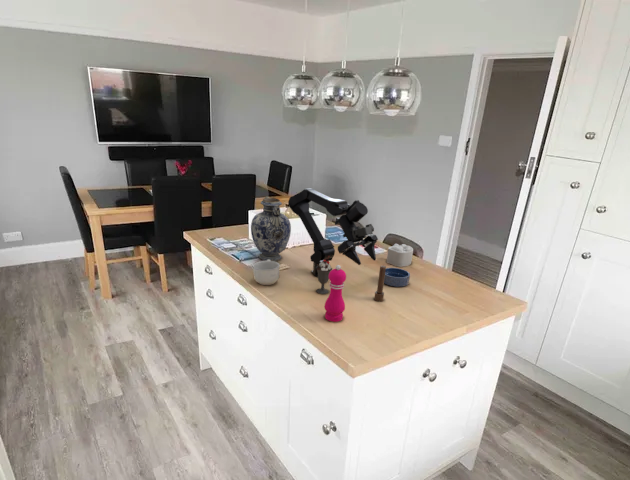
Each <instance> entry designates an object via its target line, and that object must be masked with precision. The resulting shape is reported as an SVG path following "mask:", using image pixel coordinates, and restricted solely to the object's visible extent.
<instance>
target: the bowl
mask: <svg viewBox="0 0 630 480" xmlns="http://www.w3.org/2000/svg"><path fill="white" fill-rule="evenodd" d="M410 278H411V273H410V272H409V271H408V270H405V269H402V268H400V267H386V270H385V278H384V285H387V286H390V287H394V288H395V287H396V288H400V287H406V286H408V285H409V283H410Z"/></svg>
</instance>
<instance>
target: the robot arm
mask: <svg viewBox="0 0 630 480" xmlns="http://www.w3.org/2000/svg"><path fill="white" fill-rule="evenodd" d="M287 202H288V203H287V205H288V207H289V208H290V210H291V212H293V213H294V214H295V215H296V216H298V217H299V220H301V222H302V224H303V226H304V229H305V230H306V231H307V234H308V236H309V237H310V239H311V240H312V244H313V253H312V254H311V255H310V257H309V258H310V262H312V264H313V266H312V270H311V273H312V274H313V275H314V277H318V271H317V270H316V267H317V264H318V265H319V264H320V263H321V262H322V261H323V260H325V259H326V262H327V261H329V262H330V261H332V260H333V258H334V256H335V252H336V249H335V245H334V244H333V242H332V240H331V239H330V238H327V239H326V238H325V237H324V236H323V234H322V232H321V231H320V228H319V227H318V225H317V223H316V221H315V220H314V217H313V216H312V214H311V212H310V203H311V202H313V203H315V204H317V205H319V206H321V207H323V208H324V209H326V211H327V213H328V214H329V215H331V216H332V217H336V218H335V221H334V225H335V226H338V225H339V226H340V229H341V230H342V232H343V234H342V237H343V238H346V240H343V242H341V243H340V244H339V245H338V246H337V251H338V253H339V254H340V255H341V254H342V256H345V257H347V258H348V259H350V260H351V261H353V262H354V263H355V264H357V265H358V266H360V265H362V262H361V260H360V257H359V255H358V253H357V251H356V249H357V248H356V247H359V246H362V247H363V250H364V252H366V253H367V255H368V256H369V257H370V258H371V259H372V260H373V261H376V260H377V256H376V250H375V246H376V243H377V242H378V240H379V238H378V236H377V235H376V234H375V233H373V232H375V228H374V226H373V224H372V223H369V224H365V226H364V227H361V226H360V225H357V224H356V223H358V222H359V221H361V220H362V219H363V218H364V217H365V216H366V215H368V212H369V210H368V207H367V206H366V205H365V204H364V203H363V202H361V201H360V200H359V199H357V200H354V201H353V202H352V203H351V204H350V203H348V201H347V200H345V199H340V198H333V197H330V196H328V195H326V194H323V193H322V192H320V191H318V190H315V188H312V187H311V188H310V187H309V188H304V189H303V190H301V191H300V192H298V193H296V194H294V195H292V196H291V195H290V197H289V198H288V201H287ZM338 216H339V217H338ZM328 256H330V257H329V258H327V257H328Z"/></svg>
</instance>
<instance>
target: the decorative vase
mask: <svg viewBox="0 0 630 480" xmlns="http://www.w3.org/2000/svg"><path fill="white" fill-rule="evenodd" d="M260 204H261V205H262V206H263V208H262V210H263V211H261V212H259V213H256V214H255V215H254V216H253V218H252V219H251V224H250V232H251V238H252V241H253V243H254V246H255V247H256V249H257V250H258V251H259V253H260V254H258V258H259V259H260V260H261V261H267V260H271V261H275V262H278V261H280V260H282V256H281V253H283V252H284V251H285V250H286V249H287V246H288V244H289V241H290V237H291V233H292V225H291V221H290V219H289V217H287V216H286V214H284V213H281V207H280V206H282V205H283V202H281V200H280V199H279V198H276V197H269V196H267V195H266V196H265V198H263V199H262V201H260Z"/></svg>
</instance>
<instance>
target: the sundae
mask: <svg viewBox="0 0 630 480" xmlns="http://www.w3.org/2000/svg"><path fill="white" fill-rule="evenodd" d="M329 257H330V256H328V257H327V258H329ZM316 270H317V271H318V276H317V279H318V282H319V283H320V284H321V286H320V288H317V289H316V293H317V294H320V295H327V294H329V293H330V291H329V290H328V289H327V288H325V285H326V284H327V283H328V282H329V281H330V280H329V273H330V271H331V270H333V267H332V266H331V263H330V261H327V262H326V259H325V260H323V261H322V262H321V263H320V264H319V265H318V264H317V267H316Z"/></svg>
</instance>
